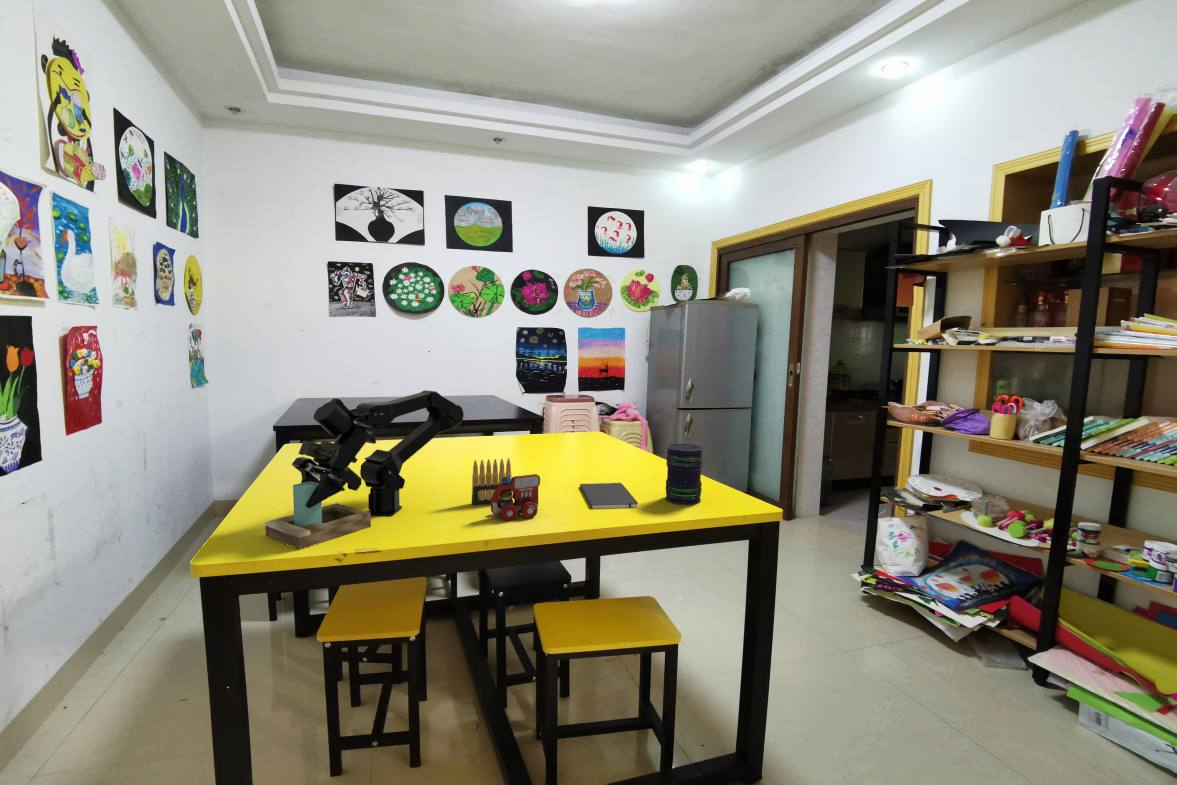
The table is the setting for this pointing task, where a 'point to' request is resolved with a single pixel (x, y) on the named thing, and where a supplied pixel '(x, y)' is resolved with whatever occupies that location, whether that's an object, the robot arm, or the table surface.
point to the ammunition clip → (487, 481)
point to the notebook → (608, 495)
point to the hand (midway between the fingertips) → (301, 505)
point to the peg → (300, 500)
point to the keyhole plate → (319, 526)
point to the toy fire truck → (516, 497)
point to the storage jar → (684, 474)
